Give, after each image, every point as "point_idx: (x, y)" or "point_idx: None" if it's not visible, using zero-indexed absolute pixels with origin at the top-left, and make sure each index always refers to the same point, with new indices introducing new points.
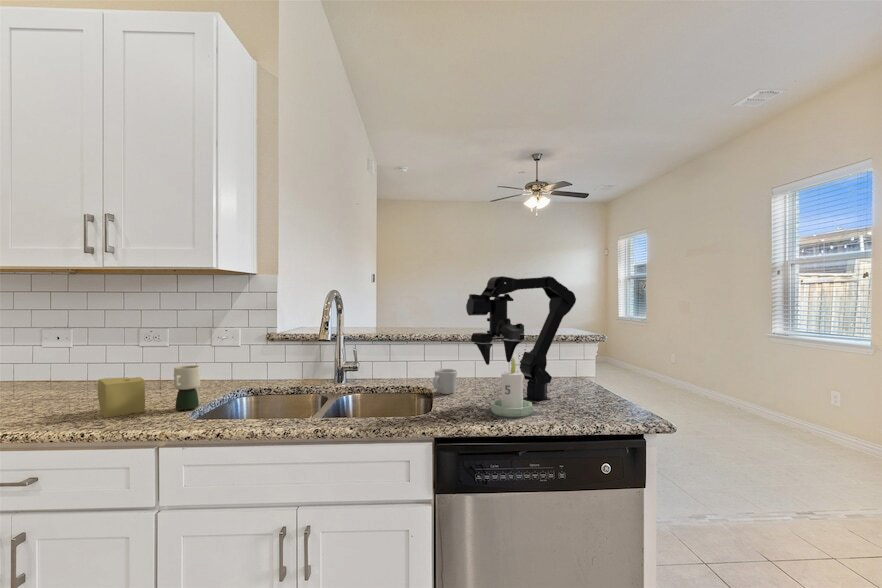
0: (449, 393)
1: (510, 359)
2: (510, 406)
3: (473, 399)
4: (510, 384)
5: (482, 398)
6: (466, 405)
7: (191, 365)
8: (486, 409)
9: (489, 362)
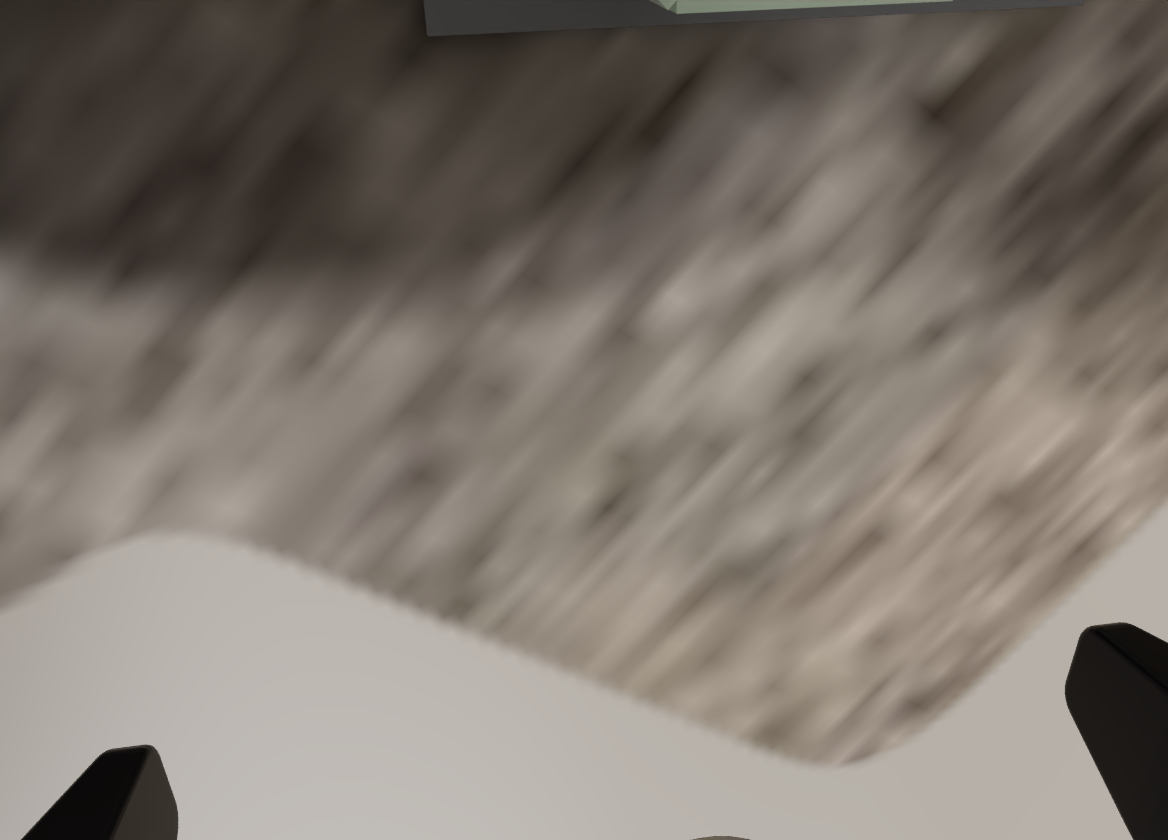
0: (719, 836)
1: (73, 814)
2: None
3: (652, 573)
4: None
5: (521, 567)
6: (933, 384)
7: None
8: (979, 2)
9: (1133, 663)
